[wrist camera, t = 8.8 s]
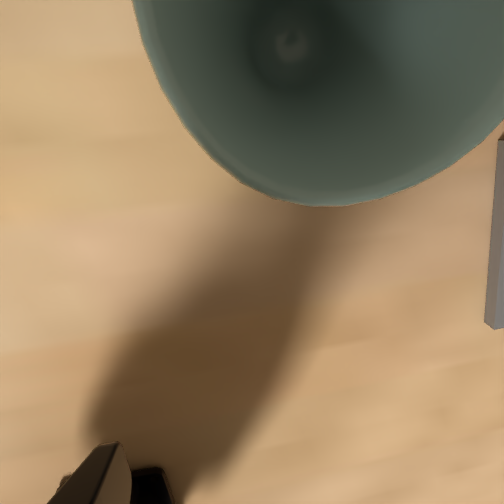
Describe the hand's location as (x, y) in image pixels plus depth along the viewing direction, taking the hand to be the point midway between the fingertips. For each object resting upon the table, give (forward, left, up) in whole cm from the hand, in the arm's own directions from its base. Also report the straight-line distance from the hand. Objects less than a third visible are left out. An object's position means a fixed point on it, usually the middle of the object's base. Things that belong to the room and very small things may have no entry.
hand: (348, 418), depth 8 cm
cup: (+8, -1, -12) cm, 14 cm away
